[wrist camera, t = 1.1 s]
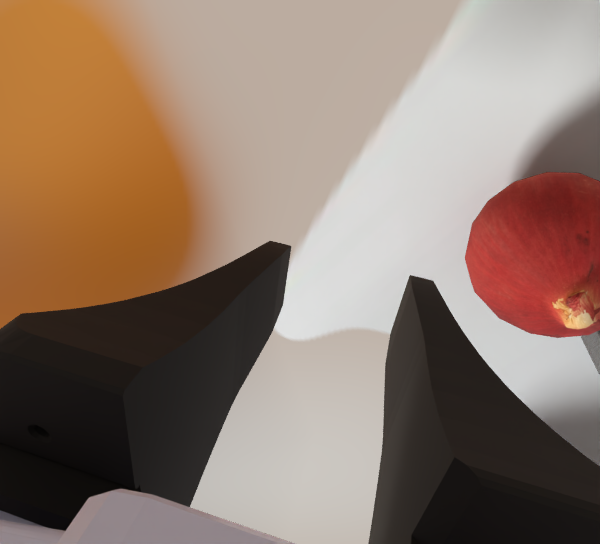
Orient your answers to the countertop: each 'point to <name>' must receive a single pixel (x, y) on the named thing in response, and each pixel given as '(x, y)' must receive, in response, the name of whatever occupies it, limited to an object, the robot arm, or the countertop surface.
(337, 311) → the countertop surface
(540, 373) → the countertop surface
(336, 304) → the countertop surface
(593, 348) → the split collar
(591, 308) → the onion
